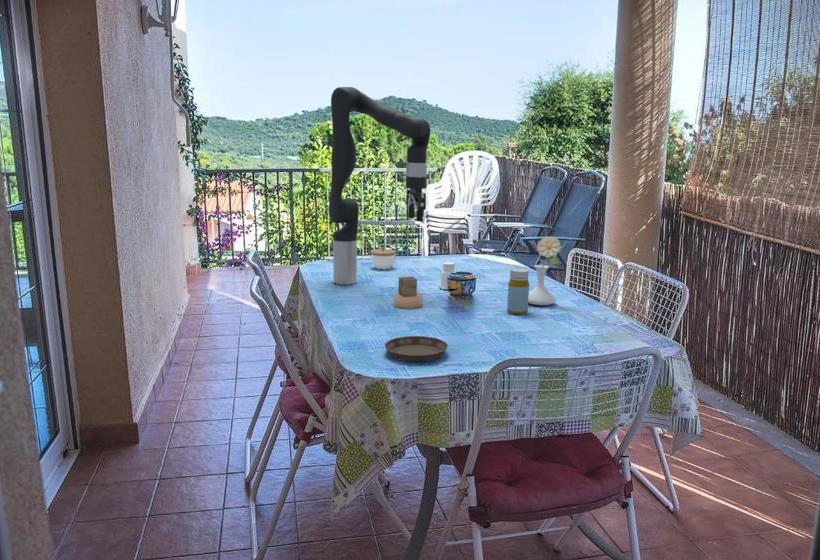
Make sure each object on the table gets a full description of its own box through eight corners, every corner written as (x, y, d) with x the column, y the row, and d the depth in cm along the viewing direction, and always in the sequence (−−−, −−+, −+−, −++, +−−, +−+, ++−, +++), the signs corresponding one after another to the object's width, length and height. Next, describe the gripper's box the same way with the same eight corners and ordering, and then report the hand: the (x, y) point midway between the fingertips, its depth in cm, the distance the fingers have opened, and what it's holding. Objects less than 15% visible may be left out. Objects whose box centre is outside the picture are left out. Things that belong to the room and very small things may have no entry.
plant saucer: (374, 360, 203) (374, 349, 202) (398, 342, 219) (398, 332, 218) (435, 368, 197) (436, 357, 196) (455, 350, 213) (455, 339, 212)
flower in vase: (517, 303, 266) (520, 235, 260) (534, 298, 274) (538, 231, 269) (548, 310, 257) (552, 239, 252) (565, 304, 265) (570, 236, 260)
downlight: (455, 291, 283) (456, 265, 281) (437, 290, 284) (438, 264, 282) (458, 287, 290) (459, 262, 288) (440, 286, 292) (441, 261, 290)
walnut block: (398, 293, 261) (398, 277, 260) (411, 292, 263) (412, 276, 262) (403, 297, 257) (403, 280, 256) (416, 296, 259) (416, 279, 257)
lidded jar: (395, 271, 316) (395, 249, 314) (370, 270, 316) (370, 249, 314) (395, 266, 326) (396, 245, 324) (371, 265, 327) (371, 245, 325)
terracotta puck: (388, 304, 263) (389, 293, 262) (413, 301, 268) (413, 290, 267) (402, 310, 254) (402, 299, 253) (427, 307, 259) (427, 296, 258)
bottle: (515, 308, 258) (517, 267, 255) (531, 312, 254) (534, 270, 250) (502, 312, 254) (504, 269, 250) (519, 316, 249) (521, 272, 246)
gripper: (400, 173, 273) (399, 217, 276) (413, 176, 260) (412, 222, 263) (419, 173, 275) (418, 216, 279) (433, 176, 262) (432, 222, 266)
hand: (415, 219), depth 271 cm, fingers open, 8 cm apart
